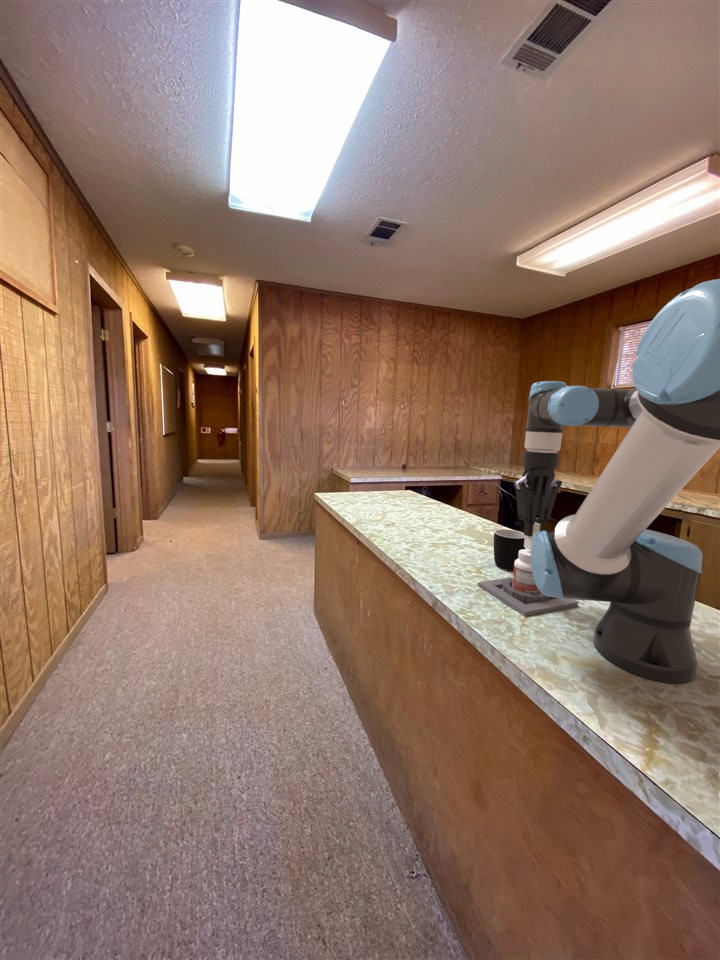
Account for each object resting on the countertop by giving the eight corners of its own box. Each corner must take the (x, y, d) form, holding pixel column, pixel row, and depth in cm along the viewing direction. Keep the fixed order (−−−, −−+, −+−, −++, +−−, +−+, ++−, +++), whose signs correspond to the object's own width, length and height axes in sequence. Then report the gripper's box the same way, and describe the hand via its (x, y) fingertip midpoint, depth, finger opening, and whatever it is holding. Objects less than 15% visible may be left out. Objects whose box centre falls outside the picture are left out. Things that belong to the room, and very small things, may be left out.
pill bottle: (518, 587, 97) (523, 546, 95) (542, 597, 92) (548, 553, 91) (506, 594, 93) (510, 551, 91) (530, 604, 88) (535, 558, 87)
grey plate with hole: (577, 605, 88) (578, 597, 88) (524, 616, 83) (525, 606, 82) (525, 578, 103) (526, 571, 103) (477, 585, 97) (478, 577, 97)
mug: (529, 573, 107) (533, 538, 106) (497, 572, 107) (501, 537, 105) (512, 558, 119) (515, 526, 117) (483, 556, 119) (486, 525, 117)
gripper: (549, 449, 93) (538, 541, 97) (507, 449, 88) (497, 546, 92) (576, 452, 86) (563, 551, 90) (532, 452, 82) (521, 556, 85)
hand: (530, 548), depth 91 cm, fingers closed
